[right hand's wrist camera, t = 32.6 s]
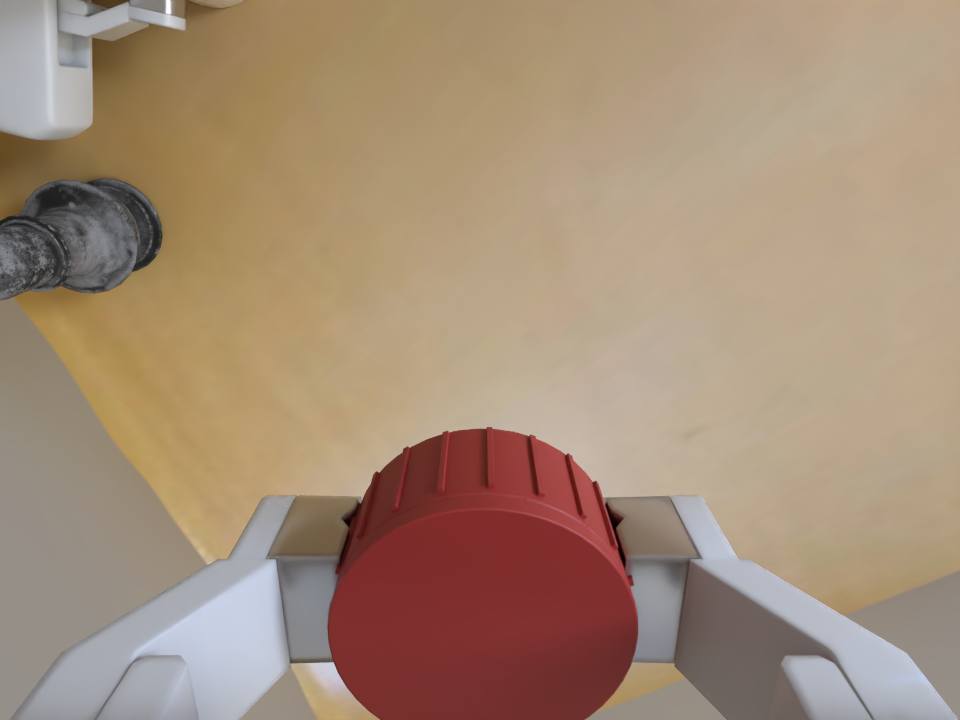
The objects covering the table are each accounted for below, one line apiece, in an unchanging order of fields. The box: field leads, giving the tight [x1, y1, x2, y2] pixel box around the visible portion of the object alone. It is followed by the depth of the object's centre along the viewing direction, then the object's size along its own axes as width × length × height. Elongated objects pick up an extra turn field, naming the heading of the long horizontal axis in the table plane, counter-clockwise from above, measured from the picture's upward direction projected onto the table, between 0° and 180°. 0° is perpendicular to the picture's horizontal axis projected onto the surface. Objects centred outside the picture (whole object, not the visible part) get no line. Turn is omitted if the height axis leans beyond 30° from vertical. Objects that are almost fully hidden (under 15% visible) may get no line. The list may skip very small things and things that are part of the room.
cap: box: [327, 427, 638, 720], centre depth 9 cm, size 4×4×2 cm
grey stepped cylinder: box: [0, 179, 162, 300], centre depth 31 cm, size 6×6×12 cm
